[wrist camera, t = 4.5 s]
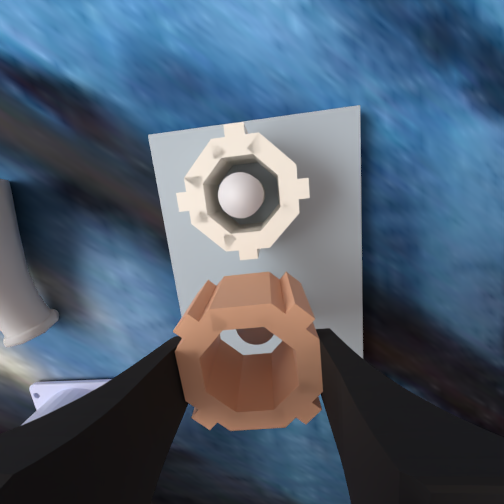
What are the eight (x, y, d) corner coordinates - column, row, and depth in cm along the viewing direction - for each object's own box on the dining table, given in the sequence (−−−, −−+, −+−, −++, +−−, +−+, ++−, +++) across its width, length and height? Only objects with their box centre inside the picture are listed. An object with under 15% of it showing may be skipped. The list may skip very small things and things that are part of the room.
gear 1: (310, 187, 15) (322, 186, 11) (255, 253, 16) (250, 270, 13) (241, 128, 14) (231, 108, 11) (189, 200, 16) (165, 203, 12)
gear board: (358, 355, 18) (389, 414, 13) (195, 362, 19) (170, 419, 15) (354, 110, 15) (394, 71, 10) (155, 138, 16) (103, 115, 11)
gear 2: (309, 364, 13) (325, 425, 10) (210, 372, 14) (192, 432, 10) (301, 268, 12) (316, 298, 9) (193, 279, 12) (166, 312, 9)
